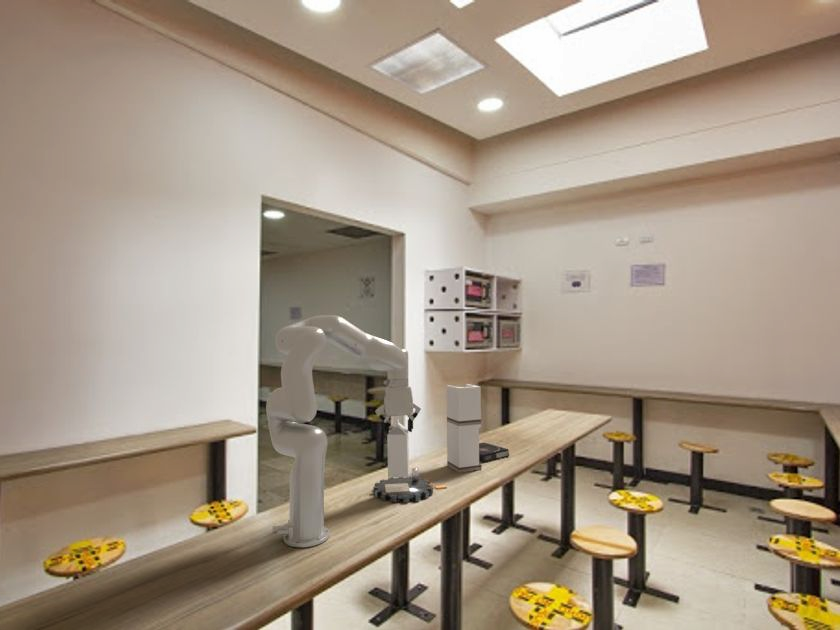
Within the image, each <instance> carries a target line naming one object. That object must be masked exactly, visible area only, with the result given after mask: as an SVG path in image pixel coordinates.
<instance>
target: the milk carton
mask: <svg viewBox="0 0 840 630" xmlns="http://www.w3.org/2000/svg"><path fill="white" fill-rule="evenodd" d="M399 421H400V420H399V419H397V421H396V424H395V425H394V424H391V425H390V426H389V433H388V434H386V435H387V436H386V437H387V438H386V439H387V443H386V445H387V447H386V449H387V477H388V478H392V477H393V478H399V477H404V478H409V474H410V452H409V451H410V450H409V449H410V448H409V445H410V444H409V431H408V428H407V427H405V426H404V425H403V424H401V423H400V422H399Z"/></svg>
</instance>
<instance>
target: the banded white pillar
mask: <svg viewBox="0 0 840 630" xmlns="http://www.w3.org/2000/svg"><path fill="white" fill-rule="evenodd" d="M481 387H482V386H479V385H474V384H469V383H466V384H465V387H464V386H453V385H449V384H447V385H446V457H447V459H446V460H447V461H446V463H447V464H446V465H448V467H449V466H450V467H449V468H451V469H452V468H453V469H452V470H454V471H455V472H457V471H458V472H457V473H459V472H461V473H467V471H469V472H475V471H474V470H476V471H482V470H481V469H483V467H482V463H480V462H479V443H480V431H479V429H480V428H482V401H481V400H482V396H481V395H482V394H481V393H482V391H481V389H482V388H481Z"/></svg>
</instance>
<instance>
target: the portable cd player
mask: <svg viewBox="0 0 840 630" xmlns="http://www.w3.org/2000/svg"><path fill="white" fill-rule="evenodd" d="M508 456H509V457H510V452H509V449H508V448H505V447H503V446H498V445H494V444H491V443H487V442H479V461H480V462H479V463H482V462H483V463H482V464H484V462H485V463H489V462H492V460H494V461H497V460H496V459H498V460H501V459H500V458H502V459H505V458H504V457H506V458H509V457H508ZM488 461H489V462H488Z"/></svg>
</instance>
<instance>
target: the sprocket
mask: <svg viewBox="0 0 840 630" xmlns="http://www.w3.org/2000/svg"><path fill="white" fill-rule="evenodd" d="M372 489H373V493H372V494H373V495H374V497H375V498H381V499H380V500H381V501H389V500H390V501H391V503H398V502H403V503H409V502H411V501H415V502H419V501H420V502H421V499H428V498H429V497H430V496H432V495H433V494H434V483H431V481H430V480H425V479H424V478H423V477H419V468H417V467H413V468H411V476H408V477H388V479H381V480H379V482H375V483H374V485H373V487H372Z"/></svg>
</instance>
